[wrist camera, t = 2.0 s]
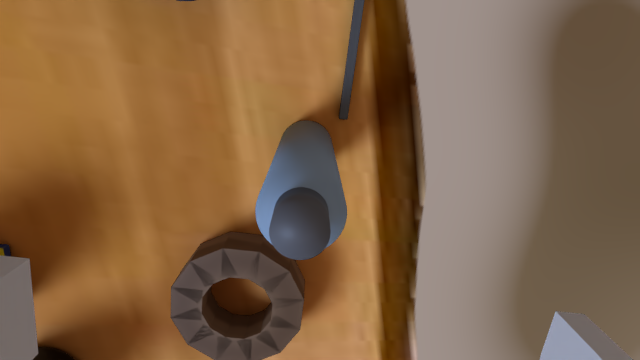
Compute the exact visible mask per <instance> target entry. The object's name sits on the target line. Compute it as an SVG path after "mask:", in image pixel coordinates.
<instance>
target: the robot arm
mask: <svg viewBox="0 0 640 360" xmlns="http://www.w3.org/2000/svg"><path fill="white" fill-rule="evenodd" d="M37 354H38V345H37V334H36V323H35V313H34V302H33V291H32V281H31V270H30V259H29V258H20V257H10V256H0V360H33V359H34V358H35V356H36V355H37ZM540 360H633V359H632V358H631V357H630V356H629V355H628V354H626V353H625V352H624V351H623V350H622V349H621V348H620V347H619V346H618V345H617V344H616V343H615V342H614V341H613V340H612V339H610V338H609V337H608V336H607V335H606V334H605V333H604V332H603V331H602V330H601V329H600V328H599V327H598V326H596V325H595V324H594V323H593V322H592V321H591V320H590V319H589V318H588V317H587V316H586V315H585V314H578V313H569V312H558V311H556V312H555V315H554V318H553V321H552V324H551V327H550V330H549V333H548V336H547V339H546V342H545V344H544V347H543V350H542V354H541V356H540Z"/></svg>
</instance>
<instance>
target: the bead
mask: <svg viewBox="0 0 640 360" xmlns="http://www.w3.org/2000/svg"><path fill="white" fill-rule="evenodd" d="M229 277H232V278H242V279H249V280H251V281H253V282H254V283H256V284H257V285H259V286H260V287H262V288H264V289H265V291H266V293H267V294H268V296H269V298H270V300H271V303H270V305H269V306H268V307H267V308H266V309H265V310H264V311H261V312H259V313H256V314H254V315H251V316H244V315H234V314H231V313H230V312H228V311H226V310H225V309H223V308H221V307H220V306H219V305H218V304H217V302H216V300H215V299H214V297H213V295H212V293H211V285H212V284H214V283H216V282H219V281H222V280H224V279H227V278H229ZM304 285H305V280H304V278H303V276H302V274H301V272H300V269H299V267H298V265H297V263H296V261H295V259H290V258H288V257H285V256H284V255H282V254H280V253H279V252H278V251H277V250H276V249H275V248H274V246H273V245H272V244H271V243H270V242H269V241H268V240H267V239H266V238H265V237H264V236H263V235H257V234H248V233H238V232H229V233H226V234H224V235H221V236H219V237H217V238H214V239H212V240H209V241H207V242H204V243H202V244H200V246H199V247H198V248H197V250H196V251H195V253H194V254H193V255H192V257H191V258H190V259H189V261H188V262H187V264H186V265H185V266H184V268H183V269H182V271H181V272H180V274H179V275H178V277H177V279H176V280H175V282H174V284H173V285H172V287H171V319H172V320H173V322H174V324H175V325H176V327H177V328H178V330H179V331H180V333H181V335H182V336H183V338H184V339H185V341H186V343H187V344H188V345H190V346H191V347H193V348H195V349H197V350H198V351H200V352H202V353H204V354H205V355H207V356H209V357H211V358H212V359H214V360H262V359H264V358H267V357H270V356H272V355H275V354H278V353H280V352H281V351H282V350H283V349H284V348H285V347H286V345H287V344H288V343H289V342H290V341H291V340H292V338H293V337H294V336H295V335H296V334H297V333H298V331H299V330H300V326H301V319H302V311H303V303H304Z"/></svg>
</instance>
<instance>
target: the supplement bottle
mask: <svg viewBox="0 0 640 360" xmlns="http://www.w3.org/2000/svg"><path fill="white" fill-rule="evenodd" d="M33 360H75V359H74V358H73V357H71V356H70V355H69V354H67V353H65V352H63V351H61V350H58V349H55V348H50V347H38V354H37V355H36V356H35V358H34V359H33Z"/></svg>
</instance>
